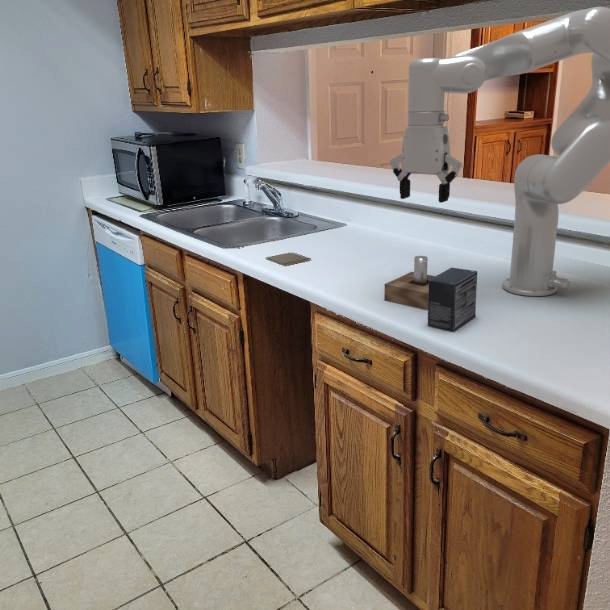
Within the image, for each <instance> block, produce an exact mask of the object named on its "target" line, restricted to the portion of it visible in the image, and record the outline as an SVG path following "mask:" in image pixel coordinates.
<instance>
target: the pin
mask: <svg viewBox="0 0 610 610" xmlns="http://www.w3.org/2000/svg"><path fill="white" fill-rule="evenodd" d="M413 258H414V259H413V262H414V263H413V265H414V266H413V269H414V270H413V272H414V284H415V285H420V286H425V285H427V275H428V261H429V260H428V256H426V255H416V256H414V257H413Z"/></svg>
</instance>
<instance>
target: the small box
mask: <svg viewBox="0 0 610 610" xmlns="http://www.w3.org/2000/svg"><path fill="white" fill-rule="evenodd" d="M434 276H435V277H433V278H431V279H429V294H428V310H427V327H431V328H434V329H438V330H442V331H448V332H453V333H455V332H456V331H457V330H459V329H460V328H461V327H463V326H465V325H466V324H467V323H468V322H470V321H472V320H473V319H475V318H476V313H477V312H476V311H477V310H476V308H477V306H476V305H477V284H478V282H477V281H478V270H473V269H466V268H464V269H463V268H458V267H450V268H448V269H446V270H443V272H441V273H439V274H436V275H434Z"/></svg>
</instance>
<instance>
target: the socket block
mask: <svg viewBox="0 0 610 610" xmlns="http://www.w3.org/2000/svg"><path fill="white" fill-rule="evenodd" d="M435 276H436V275H431V274H427V285H425V286H420V285H415V284H414V271H410V272H408V273H406V274H404V275H402V276H398V277H397V278H395V279H393V280H390V281H388V282H386V283H385V284H384V292H383V293H384V297H383V298H384V301H386V302H390V303H394V304H395V303H396V304H399V305H403V306H408V307H413V308H417V309H421V310H427V311H428V294H429V279H431V278H433V277H435Z"/></svg>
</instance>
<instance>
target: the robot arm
mask: <svg viewBox="0 0 610 610" xmlns="http://www.w3.org/2000/svg"><path fill="white" fill-rule="evenodd" d="M588 53H589V54H590V53H592V55H591V61H590V62H591V63H590V65H591V76H592V78H591V79H592V80H591V85H590V88H589V90H588V93H587V94H586V95H585V97H583V99H582V101H581V102H580V103H579V104H578V105H576V107H575V109H573V111H572V112H571V113H570V114H569V115H568V116H567V117H566V118H565V119H564V120H563V121H562V123H561V124H560V125H559V126H558V127H557V128H556V130H555V131H554V133H553V134H552V137H551V141H550V142H551V143H550V144H551V148H552V150H553V152H554V153H555V154H556V155H557V156H558V157H556V156H555V155H554V156H553V155H548V154H540V153H539V154H533V155H530V156H529V155H528V156H527V157H526V158H524V159H523V160H522V161H521V162H520V163H519V164H518V165H517V168H516V170H515V172H514V179H513V186H514V187H513V188H514V189H513V190H514V199H515V200H514V201H515V207H514V208H515V209H514V211H515V212H514V224H513V234H512V235H513V236H512V249H511V259H510V261H511V262H510V273H509V277H508V278H505V279H504V280H503V281H502V288H503V289H504V290H505V291H507V292H509V293H512V294H514V295H519V296H527V297H528V296H529V297H544V296H549V295H554V294H555V293H557V292H558V290H559V289H564V290H568V289H570V285H571V284H570V283H571V282H570V280H568V278H566V277H558V275H557V273H558V272H557V270H554V261H555V253H556V242H557V241H556V240H557V233H558V226H559V214H560V213H559V205H562V204H567V203H569V202H571V201H572V200H574V199H575V198H577V197H579V195H581V193H582V192H583V191H584V190H585V189H586V188H587V187H588V186H589V185H590V184H591V183H592V182H593V181H594V180H595V178H596V177H598V176H599V174H600V173H602V171H603V170H604V169H605V168H606V166H607V165H608V164H609V163H610V8H609V7H605V6H594V7H590V8H585V9H580V10H575V11H572V12H569V13H567V14H563V15H561V16H560V15H559V16H558V17H554V18H553V19H550V20H547V21H544V22H541V23H539V24H536V25H533V26H530V27H527V28H524V29H521V30H520V31H517V32H514V33H511V34H508V35H505V36H503V37H501V38H499V39H496V40H494V41H490V42H487V43H485V44H482V45H479V46H477V47H474V48H471V49H467V50H465V51H462V52H460V53H457V54H454V55H451V56H449V57H446V58H440V57H424V58H416V59H413V60H411V61H410V63H409V65H408V97H407V98H408V101H407V103H408V105H407V126H406V127H405V129H404V133H403V138H402V144H401V145H402V148H401V153H400V154H399V155H397V156H396V157H393V158H392V159H390V161H389V163H390V166H391V169H392V172H393V174H394V175H395V176H396V179H397V181H399V194H400V199H401V200H405V199H407V198H410V197H411V179H409V178H410V176H411V175H412V174H415V175H417V174H418V175H428V176H429V175H431V176H432V175H433V176H434V175H435V176H437V178H438V180H439V181H440V183H439V185H438V203H442V204H443V203H445V202H447V201H449V198H450V191H451V183H452V182H453V181H454V180H455V179H456V177H457V176H458V174H459V172H460V171H461V169H462V167H463V162H461V161H459V160H457V159H456V158H455V157H453V156H452V155H451V143H450V134H449V130H448V125H447V126H446V125H445V122H448V121H449V120H450V114H446V112H445V94H446V93H447V94H459V95H461V94H462V95H464V94H471V93H474V92H475V91H477V90H479V89H480V88H481V87H482V86H483V84H484V82H486V81H490V80H493V79H494V80H495V79H497V78H503V77H510V76H517V75H518V76H519V75H522V74H526V73H529V72H533V71H535V70H538V69H541V68H544V67H546V66H549V65H551V64H554V63H557V62H561V61H563V60H566V59H569V58H572V57H575V56H577V55H580V54H588ZM400 162H401V167H400ZM451 167H452V169H451ZM450 169H451V171H450ZM449 171H450V172H449ZM558 288H559V289H558Z"/></svg>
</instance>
